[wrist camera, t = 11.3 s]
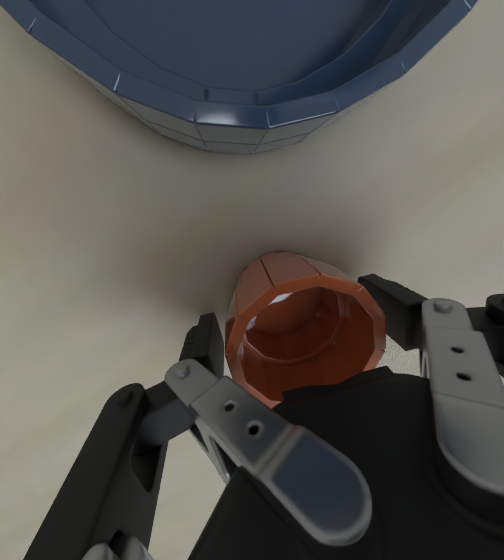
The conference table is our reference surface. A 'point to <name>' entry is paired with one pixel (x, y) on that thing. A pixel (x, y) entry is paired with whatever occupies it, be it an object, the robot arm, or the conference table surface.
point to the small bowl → (299, 326)
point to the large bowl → (239, 59)
